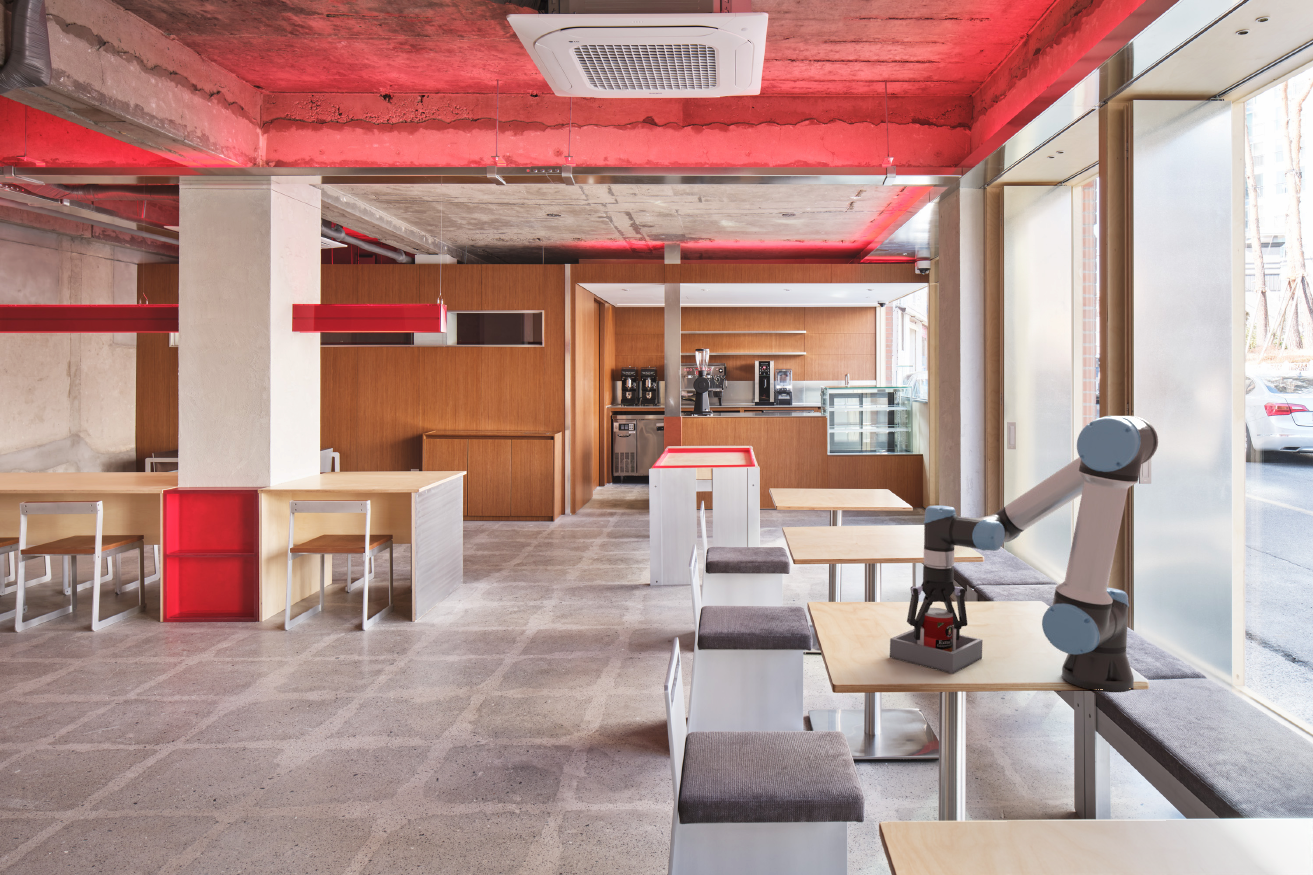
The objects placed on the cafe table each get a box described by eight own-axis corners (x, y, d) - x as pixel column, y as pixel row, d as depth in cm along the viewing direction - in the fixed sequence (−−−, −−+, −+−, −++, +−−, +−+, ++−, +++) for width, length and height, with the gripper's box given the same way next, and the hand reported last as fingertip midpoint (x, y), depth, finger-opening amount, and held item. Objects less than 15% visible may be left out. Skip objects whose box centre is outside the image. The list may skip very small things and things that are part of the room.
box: (981, 658, 210) (982, 639, 210) (952, 673, 198) (953, 653, 198) (921, 643, 222) (921, 625, 222) (889, 657, 210) (890, 638, 210)
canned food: (939, 659, 205) (940, 617, 204) (914, 651, 211) (915, 609, 211) (958, 654, 209) (959, 612, 208) (932, 646, 215) (933, 605, 215)
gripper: (972, 562, 212) (970, 647, 214) (894, 562, 213) (892, 647, 214) (983, 568, 205) (981, 656, 206) (903, 568, 205) (901, 656, 206)
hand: (936, 651), depth 210 cm, fingers closed on canned food, 8 cm apart
